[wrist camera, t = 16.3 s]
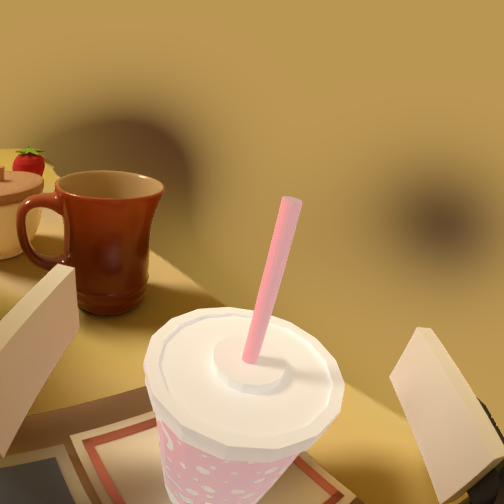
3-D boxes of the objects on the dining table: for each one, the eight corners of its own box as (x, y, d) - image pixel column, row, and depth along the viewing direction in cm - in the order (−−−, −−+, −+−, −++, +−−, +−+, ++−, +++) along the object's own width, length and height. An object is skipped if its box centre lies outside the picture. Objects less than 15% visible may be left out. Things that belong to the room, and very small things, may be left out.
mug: (134, 267, 32) (142, 169, 28) (170, 315, 27) (184, 197, 23) (23, 282, 25) (16, 174, 21) (32, 343, 19) (12, 207, 15)
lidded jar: (60, 237, 34) (61, 161, 31) (13, 279, 25) (5, 183, 21) (-2, 225, 33) (-4, 156, 30) (-51, 259, 23) (-61, 176, 20)
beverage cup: (170, 424, 16) (203, 159, 10) (278, 452, 15) (383, 204, 10) (132, 514, 10) (96, 198, 5) (264, 548, 10) (466, 292, 4)
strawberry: (43, 190, 48) (45, 135, 44) (44, 203, 43) (47, 140, 39) (13, 192, 45) (15, 136, 41) (11, 206, 40) (12, 142, 36)
